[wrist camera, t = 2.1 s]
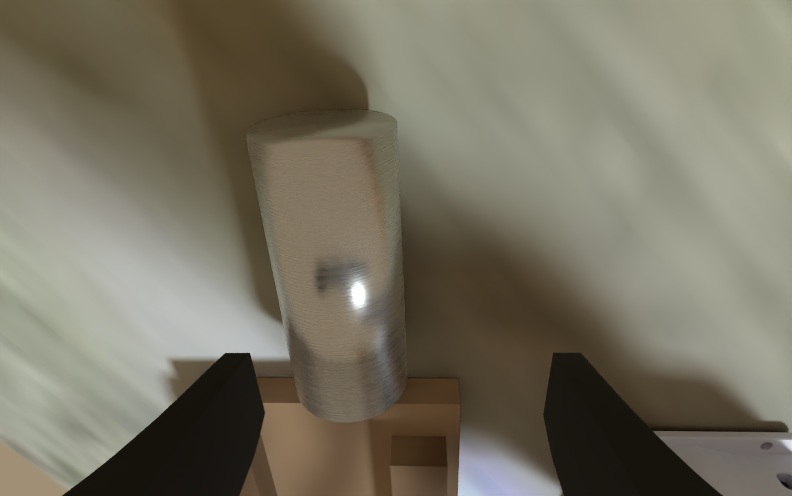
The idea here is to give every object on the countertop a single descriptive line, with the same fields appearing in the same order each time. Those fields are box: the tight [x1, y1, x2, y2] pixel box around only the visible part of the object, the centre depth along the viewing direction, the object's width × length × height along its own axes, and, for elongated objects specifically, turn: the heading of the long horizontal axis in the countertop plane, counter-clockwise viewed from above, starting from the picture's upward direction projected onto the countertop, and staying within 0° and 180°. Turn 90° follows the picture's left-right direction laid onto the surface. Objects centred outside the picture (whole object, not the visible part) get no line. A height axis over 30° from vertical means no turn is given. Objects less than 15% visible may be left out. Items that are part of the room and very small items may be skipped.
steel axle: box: [245, 109, 408, 423], centre depth 16 cm, size 4×10×4 cm
